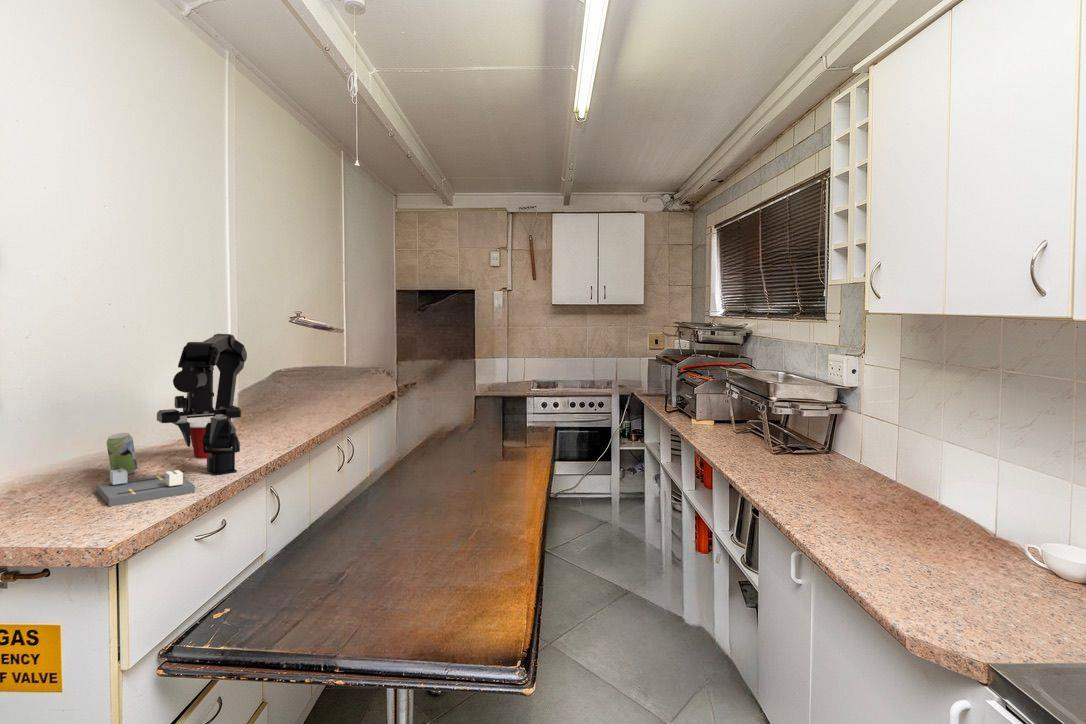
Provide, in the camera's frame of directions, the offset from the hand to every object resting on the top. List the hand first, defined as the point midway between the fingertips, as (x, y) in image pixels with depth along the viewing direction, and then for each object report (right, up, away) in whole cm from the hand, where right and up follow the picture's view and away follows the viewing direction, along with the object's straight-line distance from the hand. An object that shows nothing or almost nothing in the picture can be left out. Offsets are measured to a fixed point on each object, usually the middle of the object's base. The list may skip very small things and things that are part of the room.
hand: (200, 445), depth 147 cm
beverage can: (-30, -10, +11) cm, 34 cm away
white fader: (-19, -9, -5) cm, 21 cm away
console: (-12, -12, -4) cm, 17 cm away
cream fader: (-4, -10, -4) cm, 11 cm away
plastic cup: (-21, -10, +36) cm, 43 cm away
